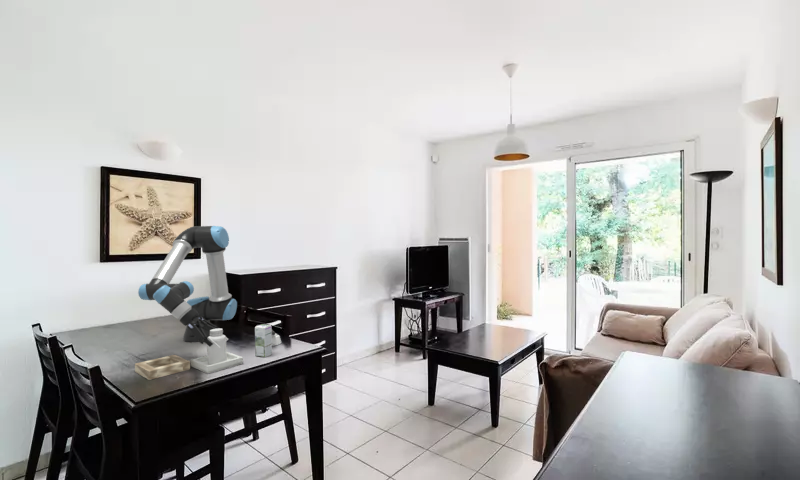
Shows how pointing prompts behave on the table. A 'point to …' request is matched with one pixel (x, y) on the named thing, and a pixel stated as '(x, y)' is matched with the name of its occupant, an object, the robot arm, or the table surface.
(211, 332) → the pill bottle
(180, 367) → the holder
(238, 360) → the tray
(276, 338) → the inkwell
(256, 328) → the syrup box
